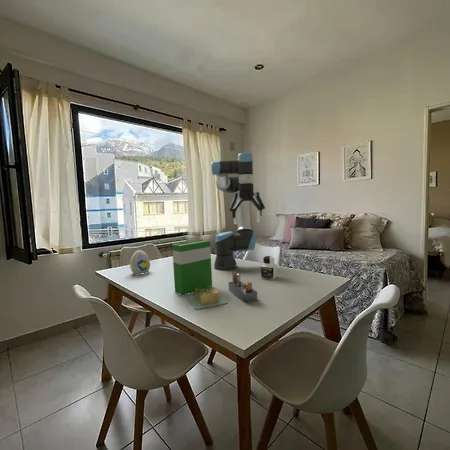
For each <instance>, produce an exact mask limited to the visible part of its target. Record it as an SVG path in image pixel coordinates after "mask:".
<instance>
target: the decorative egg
mask: <svg viewBox="0 0 450 450" xmlns="http://www.w3.org/2000/svg"><path fill="white" fill-rule="evenodd" d="M129 267H130V268H129V269H130V270H131V272H132V274H134V273H135V274H141V273H146V272H147V273H148V272H149V270H150V269H151V268H150V267H151V260H150V258H149V255H148V254H147V253H146V252H145V251H143V250H142V249H141V250H140V249H138V250H136V251H135V252H133V254H132V256H131V258H130V261H129ZM147 273H146V274H147ZM135 274H134V275H135ZM141 275H142V274H141Z"/></svg>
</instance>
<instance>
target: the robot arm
mask: <svg viewBox="0 0 450 450" xmlns="http://www.w3.org/2000/svg"><path fill="white" fill-rule="evenodd" d="M253 164H254V159H253V153H251V152H241V153H238V155H237V160H216V161H214V160H213V161H212V162H211V164H210V165H211V167H210V168H211V174H212V175H213V176H216V182H215V184H216V185H215V186H216V188H217V189H218V190H219V191H221V192H223V193H225V194H233V196H232V199H231V202H230V205H229V208H228V211H229V212H231V213H232V214H231V215H232V216H231V217H232V219H233V224H234V225H237V229H236V230H235V233H234V232H233V231H224V232H219V233H218V234H216V235H215V255H216V256H215V259H214V263H213V267H214V269H215V270H219V271H228V270H234V269H236V268H237V267H238V266H237V265H238V264H237V261H236V258H235V255H234V253H235V252H249V251H251V252H252V251H254V250H255V248H256V241H257V234H256V232H254V229H252V228H251V215H250V202H251V203H252V204H253V206H254V207H256V209H257V210H256V223H260V224H261V223H262V221H261V217H262V213H263V212H262V211H263V210H264V209H265V208H266V207H265V205H264V203H263V201H262V199H261V196H260V192H259V191H256V192H254V183H253V182H254V170H253V169H254V167H253V166H254V165H253ZM229 175H238V176H229ZM254 197H255V198H254Z"/></svg>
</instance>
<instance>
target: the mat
mask: <svg viewBox="0 0 450 450" xmlns="http://www.w3.org/2000/svg"><path fill="white" fill-rule="evenodd" d="M187 299H189V300H188V301H189V303H190V302H191V303H190V304H191V305H193V306H194V307H193V306H192V307H193V309H194V308H195V309H198V310H201V309H200V308H203V309H206V308H205V307H208V308H212V307H211V306H213V307H217V306H216V305H218V306H222V304H223V305H227V304H228V302H227V301H226V300H225V299H224V298H223V297H222V296H221V295H219V303H213V304H208V305H203V306H201V305H200V304H199V302H198V301H197V300H196V299H195V295H194V296H189V297H187ZM195 309H194V310H195Z"/></svg>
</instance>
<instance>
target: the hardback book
mask: <svg viewBox="0 0 450 450" xmlns="http://www.w3.org/2000/svg"><path fill="white" fill-rule="evenodd" d="M171 248H172V249H171V250H172V251H171V252H172V263H173V264H172V266H173V280H174V292H175V293H176V292H177V293H176V294H178V293H179V294H178V295H180V294H181V296H182V295H184V296H186V295H185V294H187V295H189V294H188V293H190V294H193V293H195V289H194V288H201V289H203V290H204V289H205V288H206V286H212V287H213V275H212V273H213V272H212V254H211V252H212V251H211V250H212V249H211V240H203V239H197V240H191V241H184V242H177V243H172V246H171ZM192 292H193V293H192Z"/></svg>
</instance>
